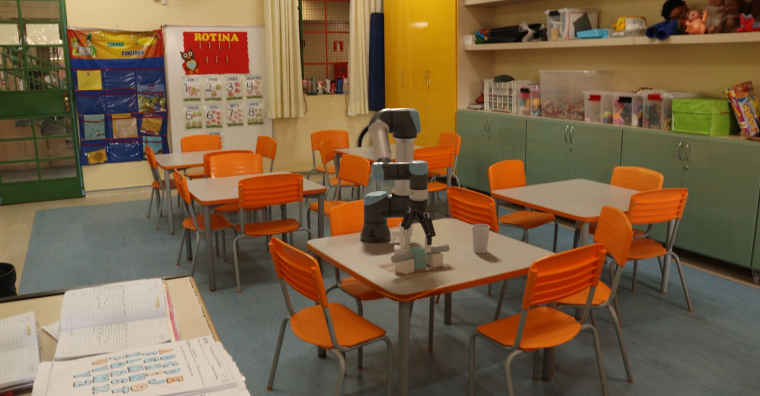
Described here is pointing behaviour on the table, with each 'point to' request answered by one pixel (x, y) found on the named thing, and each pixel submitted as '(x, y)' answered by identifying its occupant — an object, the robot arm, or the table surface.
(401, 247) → the figurine
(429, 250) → the robot arm
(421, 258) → the block
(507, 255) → the table surface
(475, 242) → the cup
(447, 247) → the shaft
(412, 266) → the shaft
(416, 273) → the brown flat board
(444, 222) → the table surface
